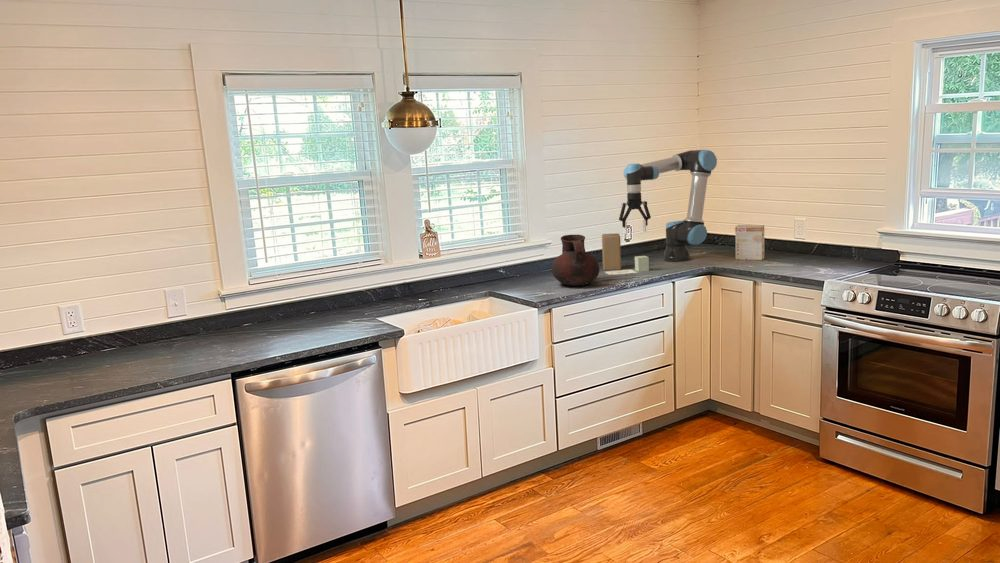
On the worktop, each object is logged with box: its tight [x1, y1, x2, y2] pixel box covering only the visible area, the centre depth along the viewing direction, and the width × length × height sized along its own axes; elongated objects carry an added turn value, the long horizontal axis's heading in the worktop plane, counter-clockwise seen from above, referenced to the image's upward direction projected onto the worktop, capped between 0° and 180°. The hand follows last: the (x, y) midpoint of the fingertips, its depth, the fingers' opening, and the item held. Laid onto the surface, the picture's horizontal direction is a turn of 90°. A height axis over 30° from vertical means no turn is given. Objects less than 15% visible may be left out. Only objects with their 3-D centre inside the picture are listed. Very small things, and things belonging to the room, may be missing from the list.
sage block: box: [634, 255, 650, 273], centre depth 413 cm, size 6×6×8 cm
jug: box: [551, 234, 600, 287], centre depth 385 cm, size 25×25×25 cm
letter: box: [604, 269, 639, 276], centre depth 412 cm, size 16×11×1 cm
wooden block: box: [601, 233, 622, 271], centre depth 422 cm, size 10×10×20 cm
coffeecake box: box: [734, 224, 765, 261], centre depth 428 cm, size 15×7×20 cm, turn 59°
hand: (635, 232), depth 409 cm, fingers open, 10 cm apart
